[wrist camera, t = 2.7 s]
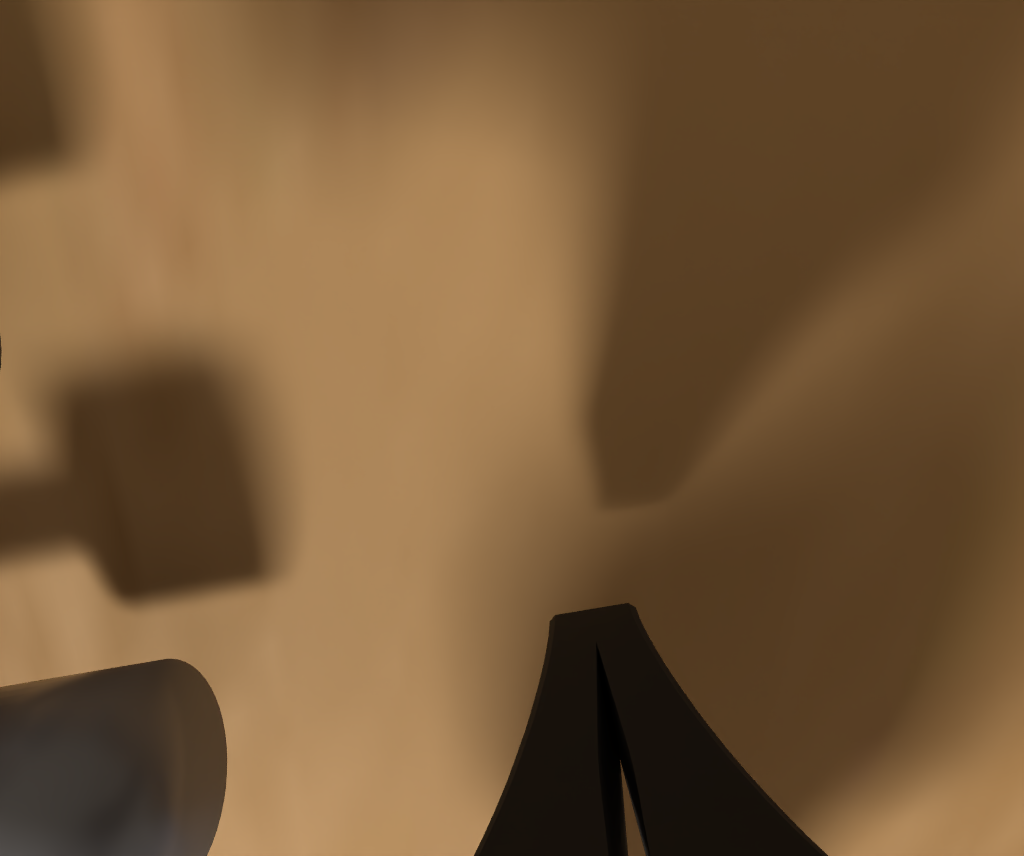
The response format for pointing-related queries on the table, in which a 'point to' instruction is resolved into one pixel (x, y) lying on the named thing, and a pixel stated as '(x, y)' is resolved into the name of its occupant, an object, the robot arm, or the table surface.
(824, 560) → the table surface
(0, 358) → the knob
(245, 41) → the table surface
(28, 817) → the knob
